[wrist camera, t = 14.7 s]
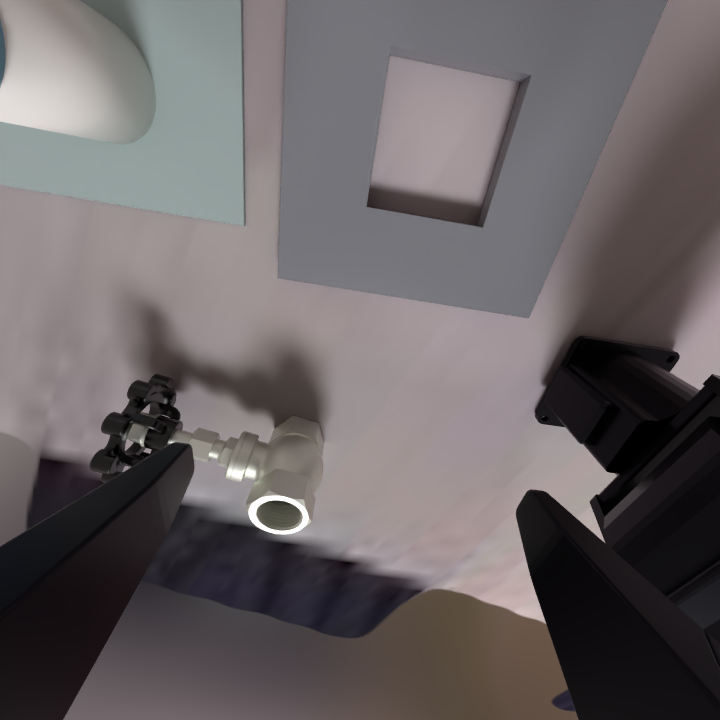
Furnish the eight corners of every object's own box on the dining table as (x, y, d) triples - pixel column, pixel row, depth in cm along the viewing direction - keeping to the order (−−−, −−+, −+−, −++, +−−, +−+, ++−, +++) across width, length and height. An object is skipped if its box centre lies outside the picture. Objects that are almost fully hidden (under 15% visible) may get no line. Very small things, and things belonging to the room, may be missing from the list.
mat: (242, -44, 12) (240, -47, 12) (245, 225, 17) (244, 226, 16) (-98, -119, 11) (-106, -124, 11) (2, 184, 16) (-2, 184, 16)
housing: (776, -296, 10) (974, -531, 6) (521, 312, 19) (552, 336, 16) (311, -437, 9) (281, -786, 6) (281, 273, 18) (264, 291, 15)
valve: (341, 410, 22) (166, 354, 20) (333, 487, 17) (87, 419, 15) (313, 472, 25) (158, 428, 23) (298, 556, 19) (89, 507, 18)
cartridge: (63, -26, 12) (-351, -326, 5) (175, 73, 14) (-30, -56, 6) (33, 92, 14) (-310, -11, 7) (134, 170, 15) (-63, 151, 8)
